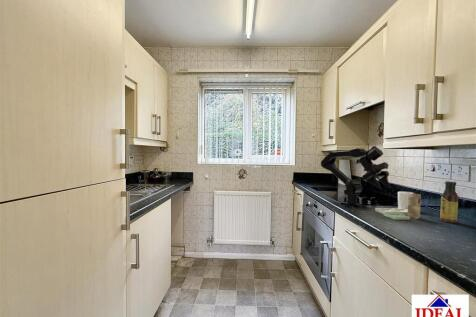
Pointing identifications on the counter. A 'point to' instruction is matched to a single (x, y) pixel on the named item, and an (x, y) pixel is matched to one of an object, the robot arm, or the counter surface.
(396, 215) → the tray green
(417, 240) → the counter surface
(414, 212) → the letter block
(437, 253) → the counter surface
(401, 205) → the white cup
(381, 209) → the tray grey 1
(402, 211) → the grey tray
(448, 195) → the sauce bottle
